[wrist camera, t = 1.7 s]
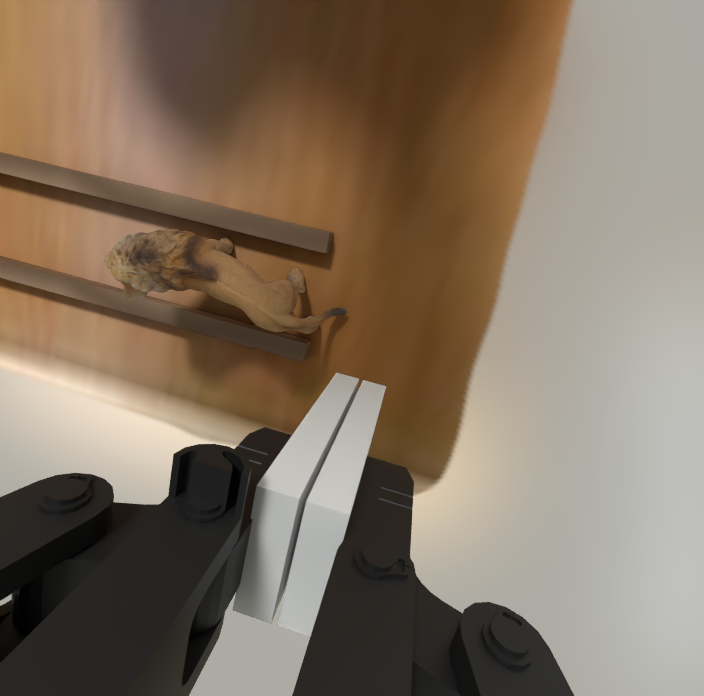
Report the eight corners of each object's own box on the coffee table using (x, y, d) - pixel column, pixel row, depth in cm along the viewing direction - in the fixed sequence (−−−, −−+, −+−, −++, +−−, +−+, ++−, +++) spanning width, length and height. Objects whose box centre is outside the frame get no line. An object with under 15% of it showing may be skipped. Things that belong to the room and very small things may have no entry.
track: (-38, 143, 35) (-95, 130, 31) (333, 232, 31) (320, 231, 28) (-35, 263, 37) (-87, 265, 34) (307, 358, 34) (292, 372, 30)
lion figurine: (171, 285, 35) (86, 298, 26) (181, 220, 33) (95, 211, 25) (339, 340, 33) (309, 373, 25) (358, 275, 32) (333, 286, 23)
